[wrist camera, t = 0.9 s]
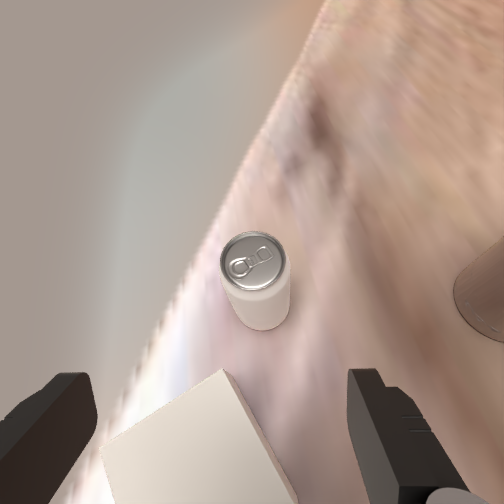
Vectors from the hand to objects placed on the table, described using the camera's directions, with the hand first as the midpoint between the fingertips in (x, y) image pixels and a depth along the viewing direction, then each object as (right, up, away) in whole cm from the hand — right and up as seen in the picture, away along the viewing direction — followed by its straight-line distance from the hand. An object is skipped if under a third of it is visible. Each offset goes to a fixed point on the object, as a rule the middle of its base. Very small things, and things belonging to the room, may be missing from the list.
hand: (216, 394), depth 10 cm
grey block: (-3, -16, +21) cm, 26 cm away
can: (+2, -2, +28) cm, 28 cm away
